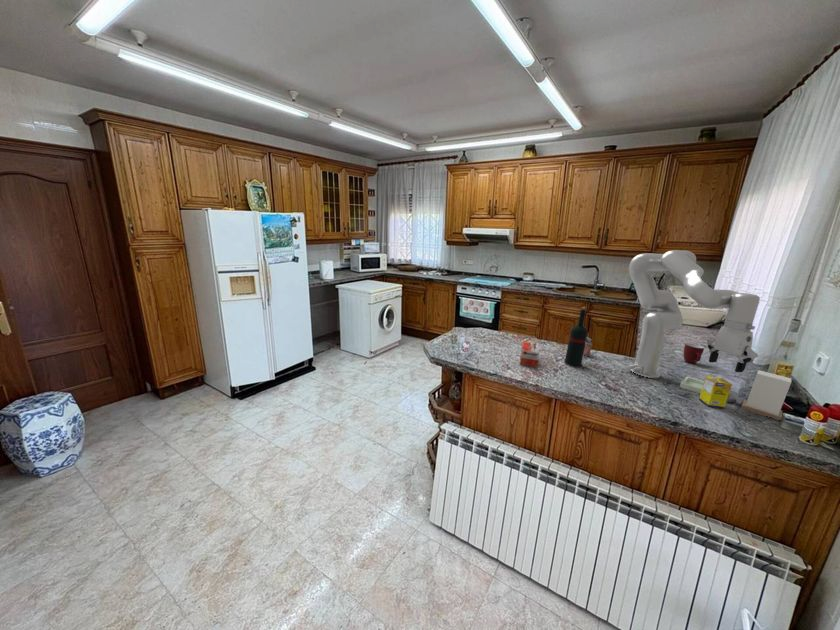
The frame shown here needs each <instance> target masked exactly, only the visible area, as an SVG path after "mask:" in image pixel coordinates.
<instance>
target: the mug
mask: <svg viewBox="0 0 840 630" xmlns="http://www.w3.org/2000/svg"><path fill="white" fill-rule="evenodd" d="M704 351H705V347H704V345H703V346H702V345H699V344H698V343H697V344H696V343H691V342H686V343H685V344H684V348H683V359H684V362H685V363H687V364H691V365H695V364H696V363H698V362H699V361H701V359H702V355H703V353H704Z"/></svg>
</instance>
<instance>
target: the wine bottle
mask: <svg viewBox="0 0 840 630" xmlns="http://www.w3.org/2000/svg"><path fill="white" fill-rule="evenodd" d="M585 315H586V306H581V309H580V311H579V317H578V322H577V325H574V326H572V328H571V329H570V333H569V338H568V343H567V348H566V353H565V358H564V359H565V360H564V363H565V364H566V365H568V366H571V367H577V368H579V367H581V366H582V362H583V358H584V356H583V353H584V347H585V342H586V337H587V336H588V329H587V328H586V327H585V326H584V320H585Z"/></svg>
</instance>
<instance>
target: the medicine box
mask: <svg viewBox="0 0 840 630" xmlns="http://www.w3.org/2000/svg"><path fill="white" fill-rule="evenodd" d="M539 356H540V349H539V343H536V342H531V341H524V340H523V341H522V342H521V349H520V363H519V365H522V366H530V367H534V368H537V367H538V361H539Z"/></svg>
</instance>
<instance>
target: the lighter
mask: <svg viewBox="0 0 840 630" xmlns="http://www.w3.org/2000/svg"><path fill="white" fill-rule="evenodd" d="M592 341H593V340H592V339H591V338H590V337H586V342H585V347H584V353H583V355H585V356H590V357H591V350H592V347H593V342H592ZM585 356H584V357H585Z"/></svg>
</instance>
